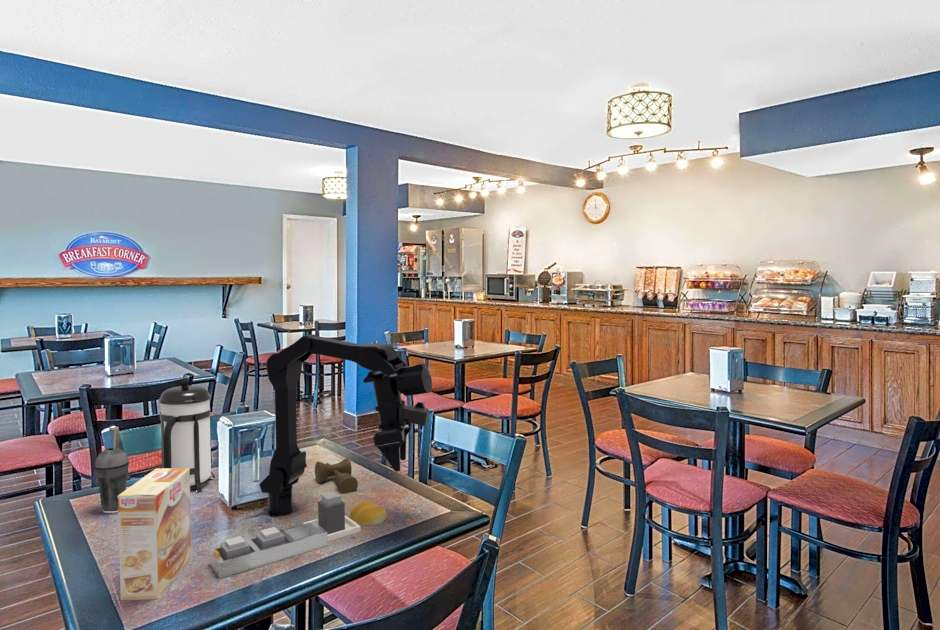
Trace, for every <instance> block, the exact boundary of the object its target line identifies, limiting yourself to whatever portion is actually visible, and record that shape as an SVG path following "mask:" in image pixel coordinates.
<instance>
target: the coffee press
mask: <svg viewBox="0 0 940 630" xmlns="http://www.w3.org/2000/svg"><path fill="white" fill-rule="evenodd" d="M179 382H180V385H179V386H173V387H170V388H168V389H166V390H164V391H162V393H161V395H160V397H158V403H159V404H160V412H159V420H160V429H161V430H160V434H161V435H160V436H161V439H160V440H161V443H160V444H161V468H190V487H193V489H194V491H195V490H197V491H199V492H201V491H200V490H202V491H203V487H202V483H204V482H206V481H208V478H209V480H210V478H211V477H213V478H214V479H215V478H216V476H215V474H214V473H213V472H212V462H211V461H212V459H211V455H212V453H211V452H212V451H211V410H212V409H211V407H210V405H211V404H210V400H211V398H212V394H211V393H210V391H208V389H207V388H206V387H203V386H199V385H190V379H189V378H187V377H183V378H181V380H180V381H179Z"/></svg>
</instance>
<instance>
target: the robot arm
mask: <svg viewBox="0 0 940 630" xmlns="http://www.w3.org/2000/svg"><path fill="white" fill-rule="evenodd" d="M313 354H315V355H320V356H325V357H331V358H334V359H335V358H336V359H339V360H340V359H341V360H344V361H349V362H353V363H355V364H356V365H358V366H360V367H362V368H363V369H366V370H369V371H368V372H367V375H366V377H365V378H364V379H363V381H362V382H363V383H364V384H366V383H372V386H373V391H374V397H375V403H376V406H375V412H377V414H378V419H379V423H378V430H377V431H376V433H375V434H374V435H373V444H374V446H376V448H377V449H378V450H379V451H380V453H381V454H382V455H383V456H384V458H385V459H386V460H387V462H388V463H389V465H390V466H391V467H392V469H393V470H394V472H400V471H401V461H405V460H406V458H407V457H406V456H407V440H408V439H407V438H408V437H407V436H408V434H409V433H410V432H411V429H412V428H413V425H418V426H420V427H425V426H426V425H427V424H428V418H429V413H430V410H429V408H426V406H425V403H424V402H421V401H417V402H416V404H415V405H414V406H413V405H406V402H405V400H404V399H403V398H402V396H401V394H403V396H405V397H410V396H417V395H425V394H429V393H431V391H432V388H433V381H432V375H431V374H430V372H429V370H428V369H427V368H426V363H424V362H423V363H418V364H415V365H409V366H408V364H407V363H406V362H405V361H404V360H403V359H401V357H400V356H399V355H398V354H397V352H396V349H395V348H394V346H392V345H391V344H390V343H365V344H364V343H363V344H362V343H355V342H351V341H350V342H349V341H345V340H339V339H336V338H335V339H333V338H330V337H324V336H318V335H317V334H306V335H302V336H301V337H299V339H297V340H296V341H295V342H293V343H292V344H290V345H288V346H287V347H285V348H284V349H282V350H281V351H279V352H276V353H273V354H271V355H270V356H269V357H268V358H267V360H266V362H265V363H266V365H265V366H266V372H267V377H268V380H269V382H270V384H271V386H272V387H273V389H274V413H275V414H274V418H275V420H274V421H275V422H274V423H275V450H274V452H273V454H272V456H271V459H270V463H269V471H268V475H267V476H266V477H265V478H264V479H263V480H262V481H261V482H260V483H259V487H260V491H261V493H264V494H267V503H268V504H267V506H268V507H265V508H262V509H263V511H264V512H265V513H266V514H268V516H270V517H271V518H275V517H276V518H277V517H282V516H285V515H290V514H291V513H296V512H299V510H298V509H297V508H296V507H295V506H294V505H293V501H294V499H293V486H294V485H296V484H298V483H299V480H300V478H301V476H302V475H303V474H304V473H305V469H306V468H308V464H307V461H306V460H307V459H306V458H307V452H306V451H305V450H304V451H303V450H302V451H301V449H300V448H299V446H298V440H297V439H298V438H297V437H298V436H297V433H298V432H297V431H298V430H297V428H298V427H297V394H296V391H297V385H298V382H299V380H300V378H301V376H302V369H303V368H302V367H303V363H306V362H307V361H308V359H310V358H311V356H313Z"/></svg>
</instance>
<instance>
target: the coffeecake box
mask: <svg viewBox="0 0 940 630" xmlns="http://www.w3.org/2000/svg"><path fill="white" fill-rule="evenodd" d="M117 497H118V513H117V514H118V516H117V517H118V520H117V521H118V522H117V523H118V552H119V554H118V555H119V559H118V560H119V583H120V584H119V587H120V589H119V590H120V596H119V597H120V599H119V600H120V601H137V600H158V599H160V598H161V597H162V596H163V595H164V594H165V593H166V592H167V590H168V589H169V588H170V587H171V586H172V584H173V583H174V582H175V581H176V579H177V578H178V577H179V576H180V574H181V573H182V571H184V569H185V568H186V567H187V565H188V564H189V563H190V561H191V560H192V541H191V540H192V535H191V530H192V527H191V486H190V468H162V467H161V468H160V467H159V468H157V467H156V468H155V469H153V470H152V471H150V472H149V473H148V474H146V475H145V476H144V477H142V478H141V479H139V480H137V481H136V482H135V483H134V484H132V485H131V486H129V487H128V488H126V490H125V491H124V492H122V493H121V494H120V495H118V496H117Z"/></svg>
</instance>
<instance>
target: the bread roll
mask: <svg viewBox="0 0 940 630" xmlns="http://www.w3.org/2000/svg"><path fill="white" fill-rule="evenodd" d="M349 518H350V519H351V520H353V521H354V522H355V523H357V524H358V525H360V526H375V525H378V524H382V523H384V522H385V521H386V520H387V518H388V512H387V510H386V509H385V508H384V507H381V506H379V505H378V503H375V502H373V501H363V502H360V503H358V504H356V505H354V507H353V508H352V509H351V510H350V512H349Z"/></svg>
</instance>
